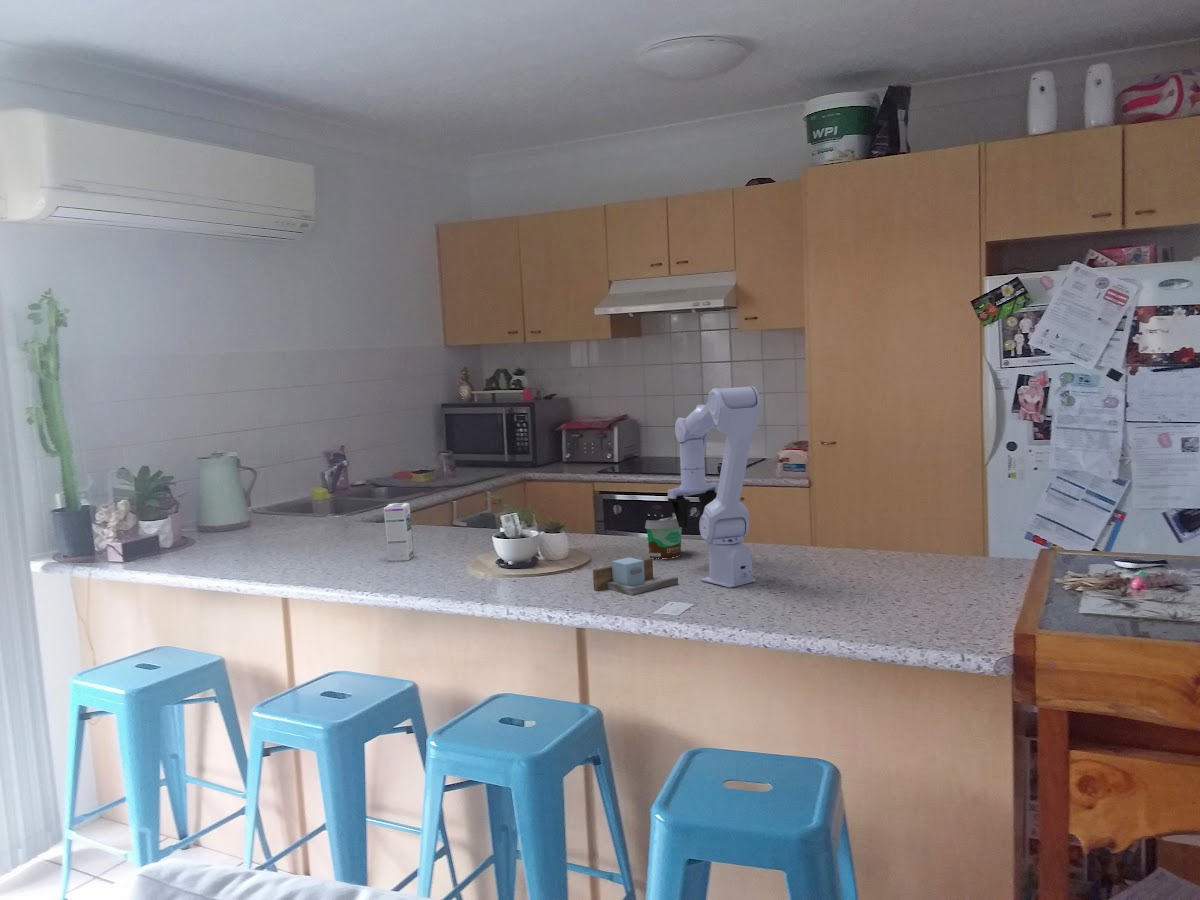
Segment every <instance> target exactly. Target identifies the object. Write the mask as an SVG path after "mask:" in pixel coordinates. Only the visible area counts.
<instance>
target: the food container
mask: <svg viewBox="0 0 1200 900" xmlns="http://www.w3.org/2000/svg"><path fill="white" fill-rule="evenodd" d="M644 526H645V527H644V529H646V534H647V543H648V553H649V558H654V559H653V560H655V559H656V558H657V559H658V558H659V559H662V558H672V557H676V556H679V555H680V554H681V553H682V551H681V549H682V529H683V527H679V525H678V522H677V518H676V515H675V513H674V512H672V515H671V516H669V517H660V518H658V519H656V520H652V519H650V520H649V519H647V520H645V525H644ZM680 556H681V555H680ZM680 556H679V557H680Z"/></svg>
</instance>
